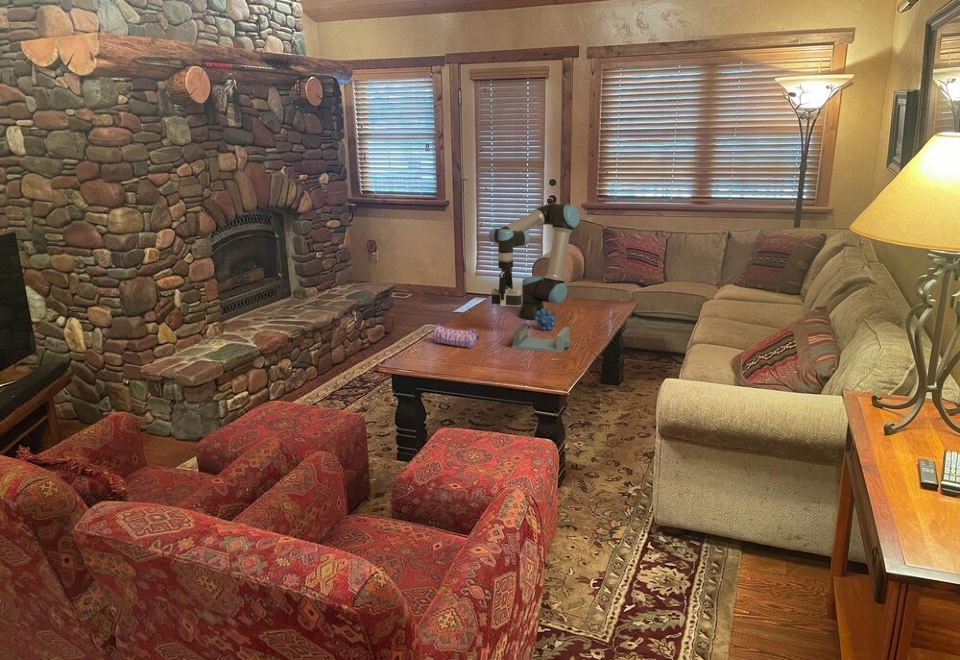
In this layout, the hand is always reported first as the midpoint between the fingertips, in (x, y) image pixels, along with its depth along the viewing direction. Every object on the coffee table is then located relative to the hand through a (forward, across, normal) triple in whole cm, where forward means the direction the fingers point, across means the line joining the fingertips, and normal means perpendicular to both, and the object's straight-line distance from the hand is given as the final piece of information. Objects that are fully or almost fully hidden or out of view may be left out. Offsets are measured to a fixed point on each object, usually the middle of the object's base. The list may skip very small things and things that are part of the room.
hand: (505, 303), depth 363 cm
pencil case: (+17, +23, -19) cm, 35 cm away
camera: (0, 0, +1) cm, 1 cm away
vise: (+17, +12, +22) cm, 30 cm away
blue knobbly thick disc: (+17, -14, +17) cm, 28 cm away
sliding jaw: (+15, +9, +12) cm, 22 cm away
